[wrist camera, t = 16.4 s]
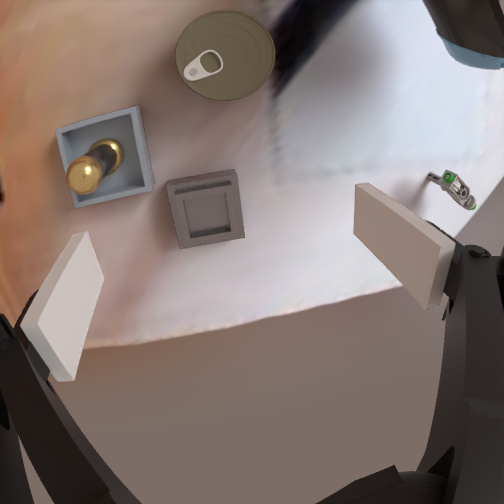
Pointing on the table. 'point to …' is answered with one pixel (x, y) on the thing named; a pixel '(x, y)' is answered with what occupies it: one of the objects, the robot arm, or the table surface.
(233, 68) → the can
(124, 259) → the table surface
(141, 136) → the tray
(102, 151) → the strut
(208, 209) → the recessed square block
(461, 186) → the mechanical component
